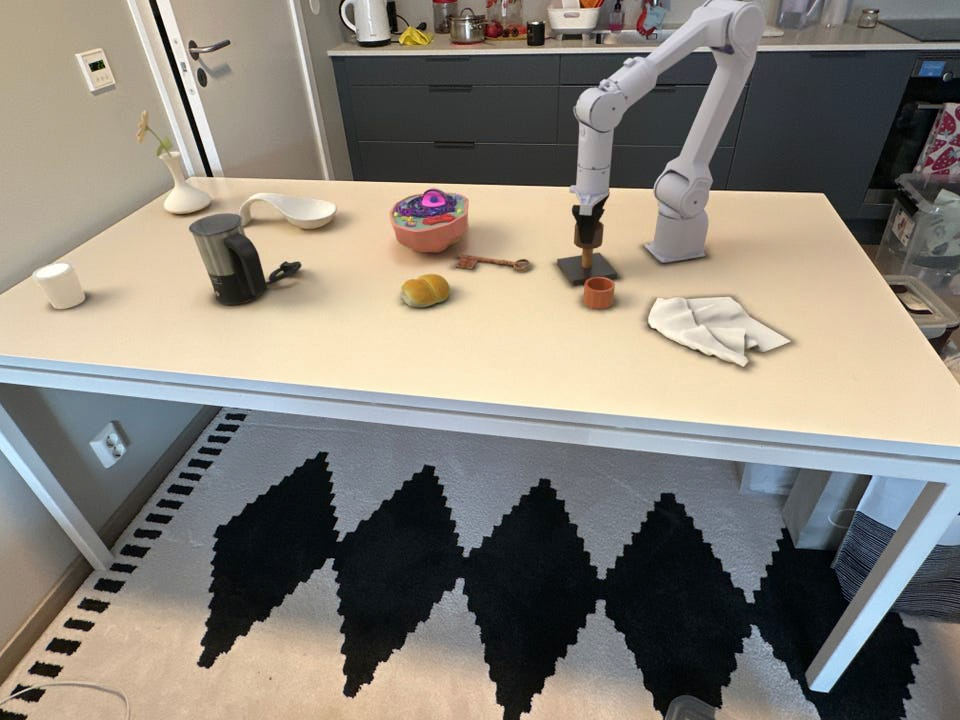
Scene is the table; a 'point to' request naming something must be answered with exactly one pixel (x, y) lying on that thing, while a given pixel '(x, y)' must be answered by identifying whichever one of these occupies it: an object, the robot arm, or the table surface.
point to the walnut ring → (596, 241)
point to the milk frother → (233, 259)
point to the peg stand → (586, 267)
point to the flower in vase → (176, 177)
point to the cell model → (430, 220)
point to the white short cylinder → (59, 284)
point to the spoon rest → (294, 209)
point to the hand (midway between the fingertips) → (588, 235)
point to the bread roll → (425, 290)
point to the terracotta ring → (599, 292)
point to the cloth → (713, 327)
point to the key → (472, 261)
